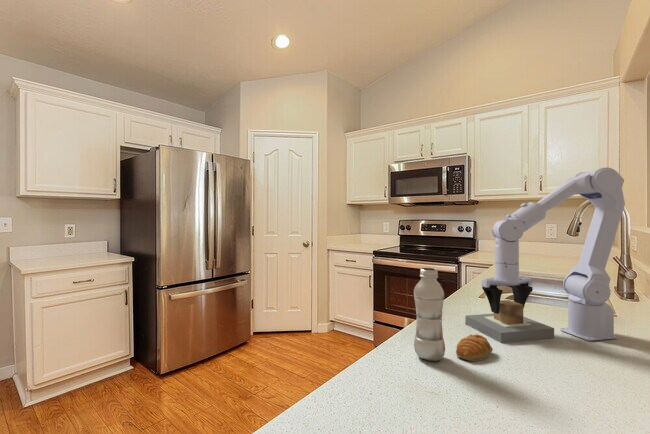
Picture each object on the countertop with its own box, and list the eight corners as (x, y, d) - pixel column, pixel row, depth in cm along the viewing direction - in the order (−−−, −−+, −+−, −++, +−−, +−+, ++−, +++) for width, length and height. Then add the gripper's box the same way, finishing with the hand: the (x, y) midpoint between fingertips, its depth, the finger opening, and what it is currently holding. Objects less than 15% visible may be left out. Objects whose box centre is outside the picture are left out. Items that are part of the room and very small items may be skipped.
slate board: (512, 320, 95) (512, 311, 95) (554, 337, 81) (554, 327, 81) (465, 323, 92) (465, 314, 92) (501, 342, 78) (500, 331, 78)
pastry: (479, 367, 66) (479, 349, 66) (448, 357, 71) (448, 340, 71) (494, 353, 73) (493, 337, 73) (464, 345, 77) (464, 330, 77)
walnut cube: (509, 317, 89) (508, 299, 89) (523, 323, 84) (523, 304, 84) (493, 318, 88) (493, 300, 88) (507, 324, 83) (507, 305, 83)
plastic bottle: (442, 367, 65) (441, 272, 65) (410, 360, 69) (409, 269, 69) (448, 356, 71) (447, 268, 71) (418, 349, 74) (417, 265, 74)
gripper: (517, 260, 92) (517, 306, 92) (474, 261, 89) (474, 309, 89) (538, 263, 85) (538, 313, 85) (492, 265, 82) (492, 316, 82)
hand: (507, 311), depth 86 cm, fingers open, 7 cm apart
